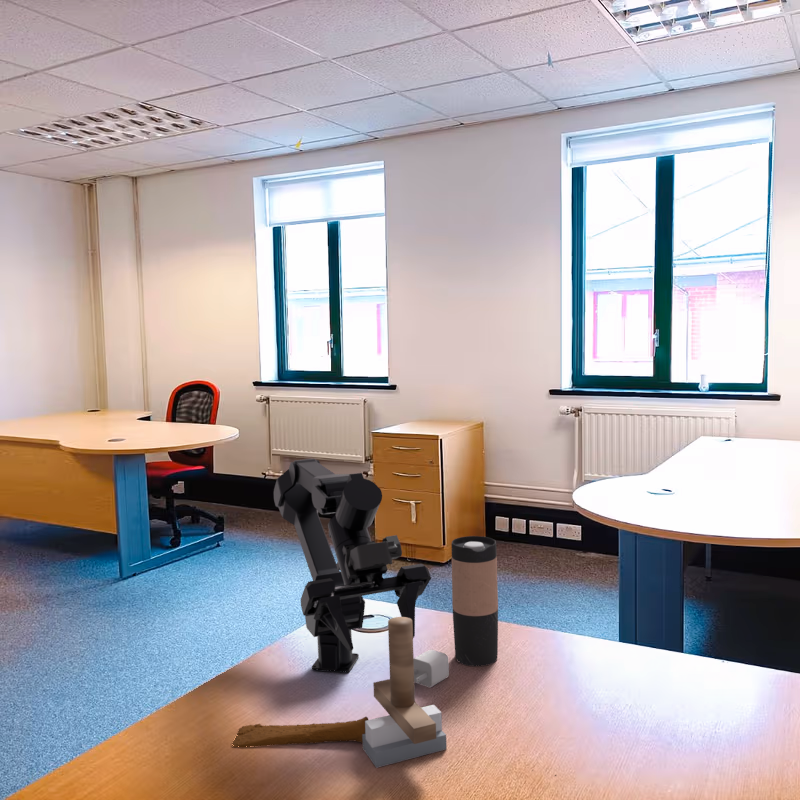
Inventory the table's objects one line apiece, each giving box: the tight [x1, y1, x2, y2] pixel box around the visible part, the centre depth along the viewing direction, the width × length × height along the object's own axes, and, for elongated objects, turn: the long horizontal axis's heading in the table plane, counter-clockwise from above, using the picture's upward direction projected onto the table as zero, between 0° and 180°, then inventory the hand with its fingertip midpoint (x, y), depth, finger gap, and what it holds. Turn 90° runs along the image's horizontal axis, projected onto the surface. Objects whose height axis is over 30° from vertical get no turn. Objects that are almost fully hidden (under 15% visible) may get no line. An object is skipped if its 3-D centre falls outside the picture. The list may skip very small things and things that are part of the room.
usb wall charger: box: [414, 649, 450, 688], centre depth 122 cm, size 4×7×4 cm, turn 140°
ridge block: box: [362, 704, 448, 768], centre depth 103 cm, size 10×5×4 cm, turn 113°
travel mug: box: [450, 535, 499, 667], centre depth 130 cm, size 8×8×20 cm
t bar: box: [372, 616, 436, 744], centre depth 102 cm, size 14×3×13 cm, turn 23°
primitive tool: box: [231, 716, 369, 748], centre depth 107 cm, size 19×6×4 cm, turn 87°
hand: (382, 643), depth 108 cm, fingers open, 9 cm apart
